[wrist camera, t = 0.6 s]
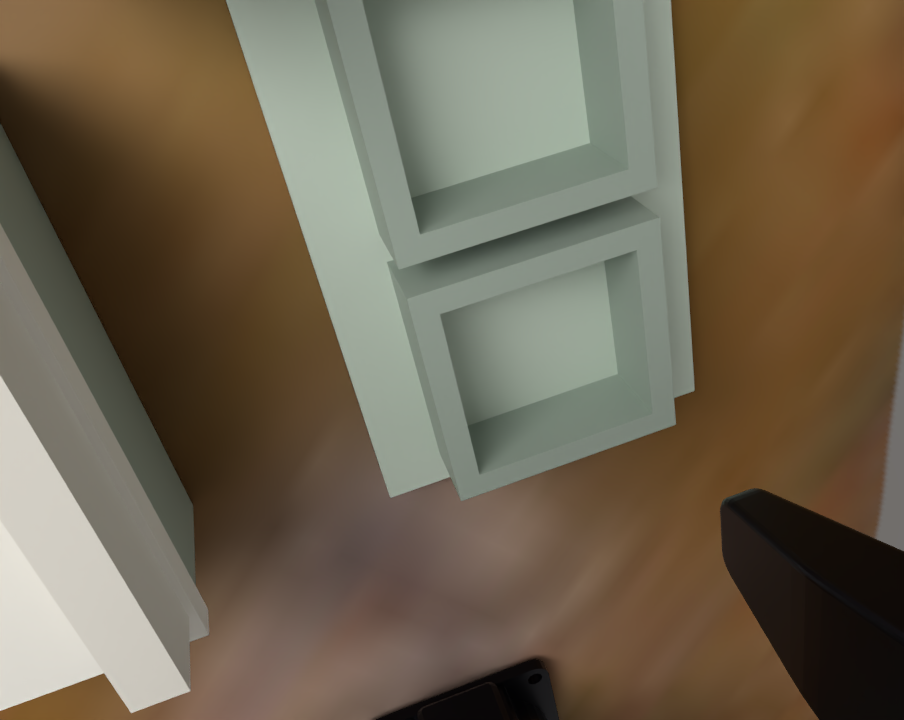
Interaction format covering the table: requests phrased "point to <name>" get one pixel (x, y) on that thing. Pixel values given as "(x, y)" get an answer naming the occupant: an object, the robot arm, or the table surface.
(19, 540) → the cover
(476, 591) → the table surface
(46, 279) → the box
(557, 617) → the table surface
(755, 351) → the table surface
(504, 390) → the build board
